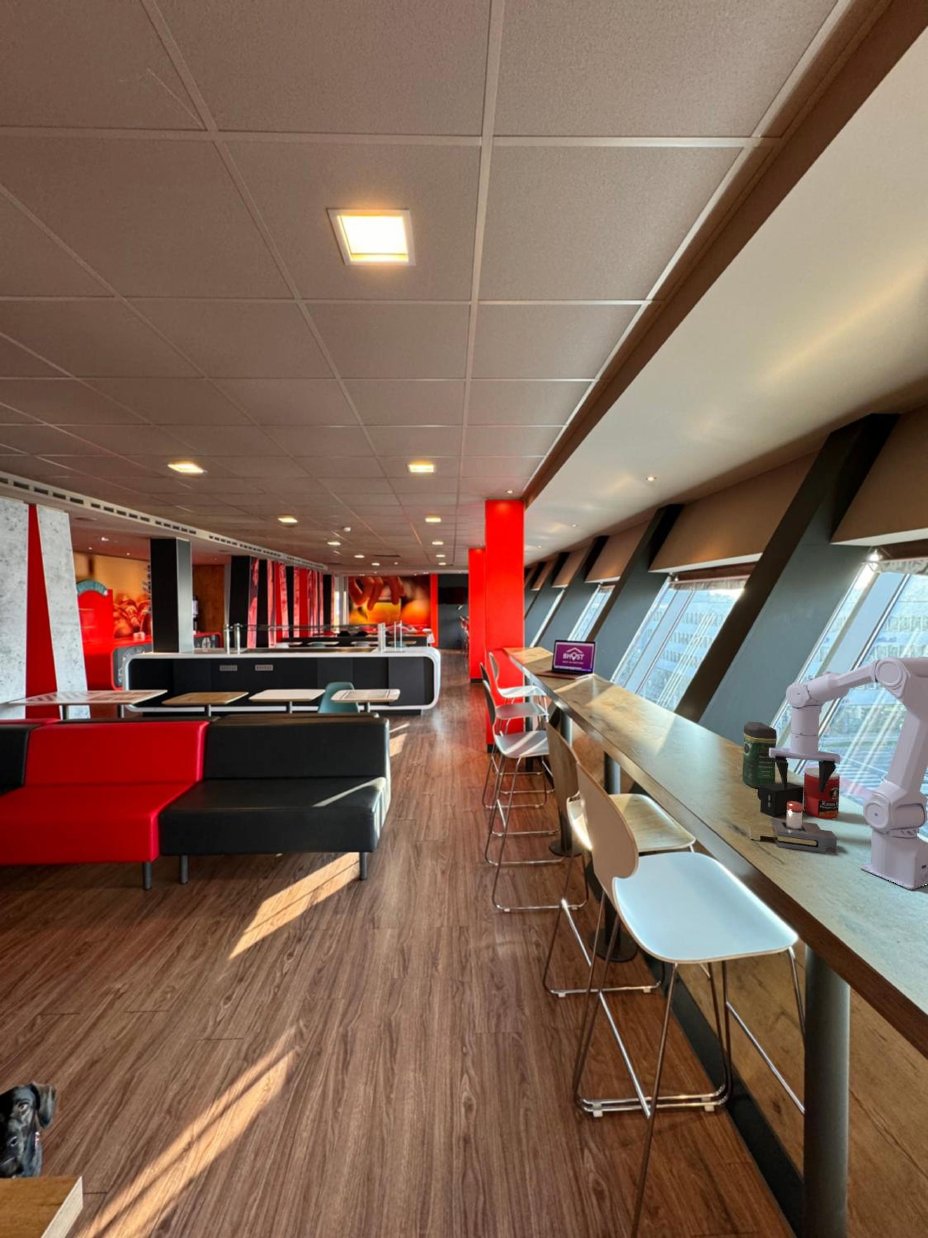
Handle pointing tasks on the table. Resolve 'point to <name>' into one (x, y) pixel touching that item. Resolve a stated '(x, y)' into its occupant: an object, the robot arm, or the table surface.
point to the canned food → (821, 795)
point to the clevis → (796, 836)
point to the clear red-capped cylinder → (794, 816)
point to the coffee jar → (758, 754)
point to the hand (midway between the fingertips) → (802, 789)
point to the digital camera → (778, 798)
